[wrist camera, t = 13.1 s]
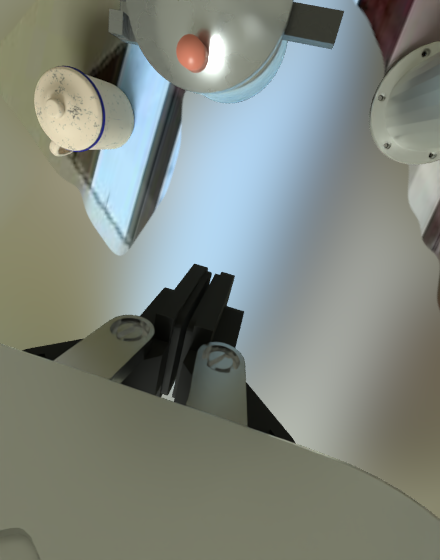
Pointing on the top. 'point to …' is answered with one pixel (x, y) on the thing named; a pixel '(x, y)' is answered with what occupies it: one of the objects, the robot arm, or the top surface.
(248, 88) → the cooker pot
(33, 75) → the top surface
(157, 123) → the top surface
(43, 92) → the teacup with lid
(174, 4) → the lid
